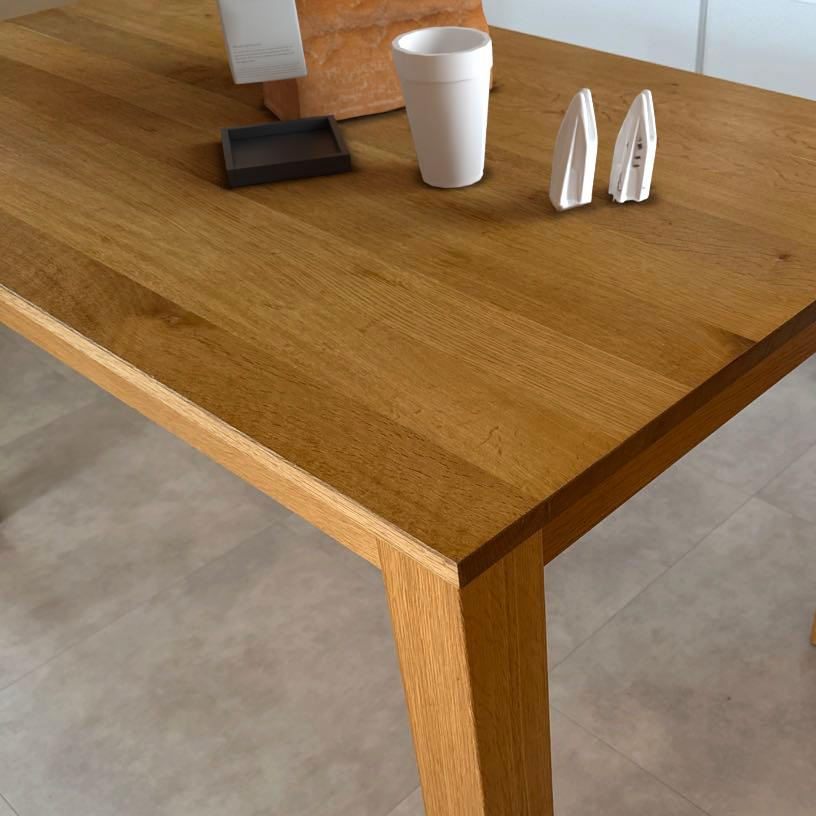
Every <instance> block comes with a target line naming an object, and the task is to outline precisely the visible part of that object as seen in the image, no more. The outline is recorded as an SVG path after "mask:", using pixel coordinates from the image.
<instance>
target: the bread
mask: <svg viewBox="0 0 816 816" xmlns="http://www.w3.org/2000/svg"><path fill="white" fill-rule="evenodd" d="M295 6H296V12H297V17H298V23H299V29H300V35H301V41H302V47H303V53H304V59H305V65H306V72H307V75H306V76H305V77H300V78H291V79H283V80H274V81H265V82H261V83H262V93H263V101H264V106H265V107H266V108H267V109H269V111H271V112H272V113H273V114H274V115H275V116H276V117H277V118H278V119H279V121H285V120H293V119H301V118H310V117H318V116H327V115H334V117H335V119H336V122H337V121H343V120H347V119H352V118H355V117H361V116H366V115H373V114H381V113H387V112H391V111H395V110H399V109H400V110H401V109H404V108H406V106H405V102H404V98H403V94H402V89H401V85H400V81H399V76H398V75H397V72H396V70H395V68H394V59H393V50H392V41H393V40H394V39H395V38H396V37H397V36H399V35H402V34H404V33H407V32H410V31H413V30H418V29H424V28H431V27H452V26H455V27H465V28H474V29H477V30H480V31H483V32H485V33H487V34H488V35H489V37H490V38H491V36H490V31H489V29H490V28H489V25H488V21H487V18H486V16H485V13H484V8H483V0H295ZM493 80H494V79H493V66H492V67H491V68H490V82H489V90H493V82H494V81H493Z"/></svg>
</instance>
